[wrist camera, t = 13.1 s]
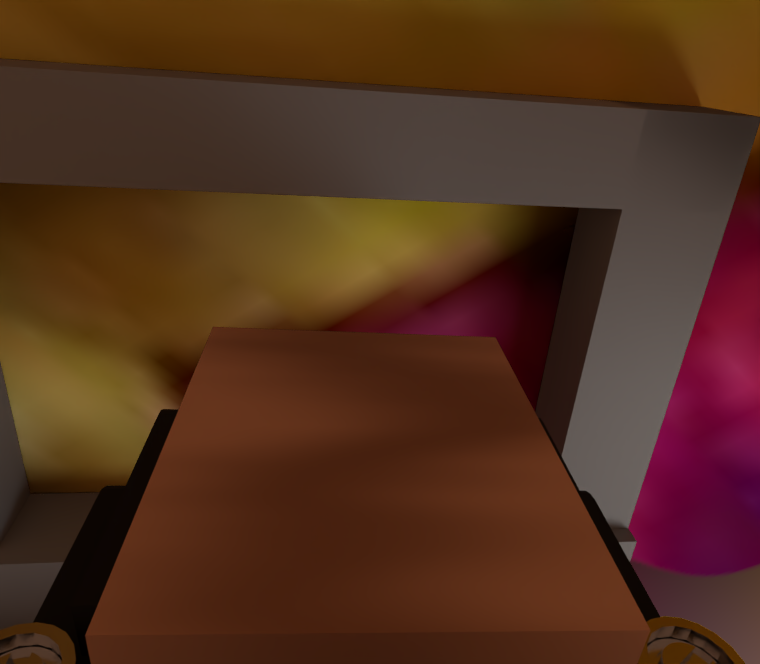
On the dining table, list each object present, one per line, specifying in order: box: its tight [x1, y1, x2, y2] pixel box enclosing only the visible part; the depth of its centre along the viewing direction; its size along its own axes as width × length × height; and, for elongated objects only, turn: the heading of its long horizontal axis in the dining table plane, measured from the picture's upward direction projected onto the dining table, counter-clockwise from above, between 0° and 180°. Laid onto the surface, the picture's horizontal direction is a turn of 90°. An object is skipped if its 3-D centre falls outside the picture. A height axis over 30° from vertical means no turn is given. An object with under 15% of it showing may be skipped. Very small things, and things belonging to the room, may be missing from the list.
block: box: [85, 327, 650, 664], centre depth 9 cm, size 5×5×6 cm
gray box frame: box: [0, 59, 760, 630], centre depth 15 cm, size 19×26×8 cm
